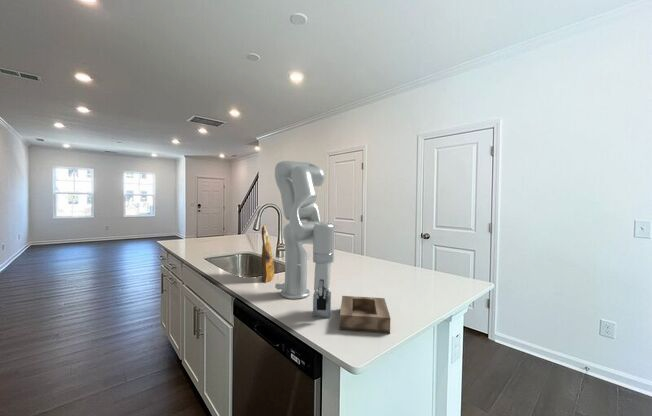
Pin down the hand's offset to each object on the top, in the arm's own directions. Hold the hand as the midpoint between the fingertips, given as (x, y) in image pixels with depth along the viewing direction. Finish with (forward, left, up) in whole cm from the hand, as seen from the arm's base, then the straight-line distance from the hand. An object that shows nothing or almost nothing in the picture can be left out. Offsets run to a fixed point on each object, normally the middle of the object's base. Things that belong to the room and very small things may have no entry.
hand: (322, 304), depth 101 cm
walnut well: (+15, -1, -4) cm, 15 cm away
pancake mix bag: (-34, +43, -4) cm, 55 cm away
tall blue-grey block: (0, +1, -4) cm, 4 cm away
